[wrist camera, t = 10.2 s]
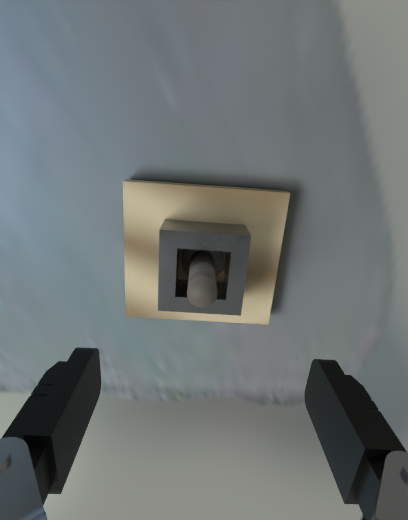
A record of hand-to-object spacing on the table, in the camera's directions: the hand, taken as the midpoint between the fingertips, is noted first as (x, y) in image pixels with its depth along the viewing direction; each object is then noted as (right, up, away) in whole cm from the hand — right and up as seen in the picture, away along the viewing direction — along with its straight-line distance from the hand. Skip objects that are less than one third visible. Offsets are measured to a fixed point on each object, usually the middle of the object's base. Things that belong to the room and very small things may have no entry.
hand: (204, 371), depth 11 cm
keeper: (0, +5, +13) cm, 14 cm away
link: (0, +4, +12) cm, 13 cm away
